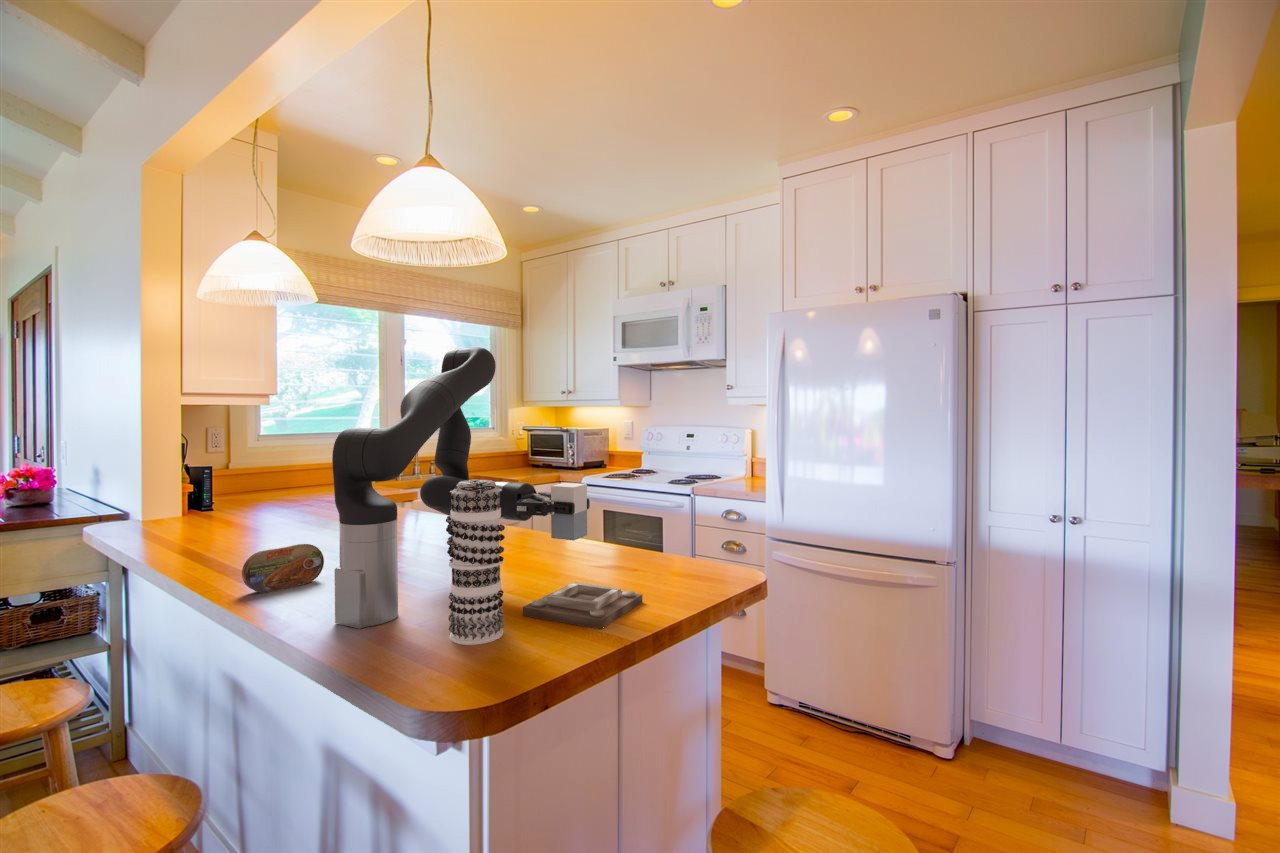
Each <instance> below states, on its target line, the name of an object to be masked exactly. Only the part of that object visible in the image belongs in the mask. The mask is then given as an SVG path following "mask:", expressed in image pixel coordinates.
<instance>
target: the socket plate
mask: <svg viewBox="0 0 1280 853" xmlns="http://www.w3.org/2000/svg"><path fill="white" fill-rule="evenodd" d="M642 603H643V593H635V591H634V590H624V591H622V588H620V587H611V586H605V585H598V584H592V583H584V582H578V581H577V582H576V581H575V582H571V583H568V584H567V585H566V586H563V587H561V588H559V589H558V590H555V591H553V592H550V593H549V594H547V595H544V596H542V597H540V598H538V599H535V600H532V601H531V603H528V604H526V605H524V606H522V616H524V617H525V616H526V617H530V618H537V619H542V620H548V621H553V622H559V623H564V624H571V625H576V626H580V627H581V626H582V627H585V628H591V627H594V628H593V629H597V628H598V629H597V630H602V628H603V627H604V628H606V627H607V626H609V625H610V624H612V623H614V622H615V621H616V620H618V619H619V618H621V617H622V616H623V615H626V614H627V613H628V612H630V611H631V610H633V609H634V608H636V607H637V606H639V605H640V604H642ZM611 622H612V623H611ZM608 624H609V625H608ZM605 626H606V627H605ZM604 628H603V629H604Z"/></svg>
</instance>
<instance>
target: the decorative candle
mask: <svg viewBox="0 0 1280 853" xmlns="http://www.w3.org/2000/svg"><path fill="white" fill-rule="evenodd" d="M495 482H496V481H494V480H491V479H469V480H465V481H460V482H459V483H458V484H457V485H456V487H455V489H454V490H452V491H450V492H451V493H452V496H451V500H452V509H451V511H450V515H447V516H446V519H445V522H446V523H447V524H448V525H447V527H446V528H445V531H446V532H447V534H448V535H450V536H449V537H448V538H447V541H446V544H447V546H449V547H448V550H446V551H447V552H446V553H447V554H448V556H449V557H450V559H449V562H448V567H450V568H451V583H450V593H449V595H448V599H449V600H450V601H451V602H449V605H448V609H449V610H450V611H451V612H450V614H449V616H448V621H449V625H448V631H449V632H450V635H449V640H450V641H451V642H452V643H453V644H454V643H455V644H457V645H461V646H462V645H465V646H475V645H483V644H484V645H485V644H487V643H491V642H494V641H497V640H499V639H500V638H501V637H503V635H504V628H503V627H504V620H503V618H504V614H505V613H504V611H503V609H502V608H501V607H503V605H504V600H503V599H502V597H503V595H504V590H503V589H502V578H501V565H502V564H503V562H504V557H503V556H502V555H500V554H502V553H503V552H504V551H505V548H504V546H501V545H500V542H501V541H503V540H505V538H506V536H505V535H504V534H502V533H500V532H503V531H504V530H505V529H506V526H505V525H503V524H502V523H500V520H501V519H500V518H501V517H503V514H502V513H501V508H500V491H502V489H499V488H498V487H497V485H496V483H495Z"/></svg>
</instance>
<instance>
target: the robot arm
mask: <svg viewBox="0 0 1280 853" xmlns="http://www.w3.org/2000/svg"><path fill="white" fill-rule="evenodd" d="M442 358H443V359H442V361H441V362H442V363H441V372H440V373H439V374H435V375H433V376H431V377H428V378H426V379H424V380H422V381H420V382H419V383H418V384H417V385H416V386H414V387H413V388H412V389H411V390H409V391H408V392H407V393H406V394H405V395H404V397H403V398H402V400H401V403H400V418H401V419H400V420H399V421H398V422H396V423H394V424H393V425H391V426H388V427H381V428H379V427H374V428H373V427H372V428H371V427H356V428H354V427H351V428H347V429H344V430H342V431H341V432H339V434H338V435H337V437H336V439H335V441H334V443H333V448H332V456H331V457H332V461H331V462H332V478H333V489H334V490H333V492H334V493H333V494H334V503H335V507H336V509H337V512H338V517H339V518H338V520H339V521H338V522H339V523H338V524H339V566H336V567H335V568H334V624H336V625H337V624H338V625H340V626H341V625H342V626H345V627H350V628H356V629H363V628H365V627H371V626H377V625H383V624H386V623H388V622H391V621H392V620H395V619H396V618H398V616H399V579H398V578H399V572H398V570H399V569H398V568H399V564H398V563H399V562H398V559H399V557H398V554H399V553H398V550H399V549H398V547H399V546H398V545H399V544H398V542H399V541H398V540H399V539H398V536H399V535H398V506H397V504H396V502H394V501H393V500H391V499H389V498H387V497H385V496H383V495H381V493H379V492H377V491H376V490H375V489H374V487H373V482H379V483H381V482H388V481H392V480H395V479H396V478H398V477H399V476H400V475H401V474H402V473H403V472H404V471H405V470H406V469H407V467H408V466H409V465H410V464H411V462H412V461H413V459H415V457H416V455H417V454H418V453H419V451H420V450H421V448H422V447H423V446H425V444H426V442H427V441H428V440H429V439H430V438H431V437H432V436H433V435H434V434H435V433H436V431H437V430H439V432H438V437H437V443H436V448H435V454H434V461H433V462H434V465H435V467H436V468H437V469H438V470H439V472H441V475H434V476H433V475H432V476H431V477H430V478H427V479H426V480H425V481H424V483H422V485H421V487H420V490H419V496H420V499H421V502H422V503H423V504H424V505H425V506H426V507H428V508H430V509H433V510H434V511H437V512H439V513H442V514H443V515H447V516H450V511H451V509H452V500H451V496H452V493H451V492H450V491H452V490H454V489H455V487H456V485H457V484H458V483H459V482H460V481H465V480H470V473H469V468H468V467H469V466H468V462H469V454H470V449H471V443H472V433H471V428H470V425H469V423H468V421H467V419H466V416H465V415H464V411H462V408H461V407H462V406H463V405H464V404H466V402H467V401H468V400H470V399H471V397H473V396H474V395H476V394H477V393H478V392H480V391H481V390H482V389H484V388H486V387H487V386H489V384H490V383H491V382H492V380H493V378H494V377H495V374H496V368H497V367H496V366H497V365H496V359H495V357H494V355H493V354H492V352H491V351H489V349H486V348H484V347H476V346H475V347H466V348H465V347H464V348H455V349H451V350H448V351H447V352H446V353H445V355H444V356H443V357H442ZM494 482H495V483H496V485H497V487H498V488H499V489H502V491H500V508H501V513H502V514H503V517H501V518H500V520H507V521H521V522H526V521H529V520H530V519H531V518H532V517H533V516H537V517H538V516H539V517H541V516H542V517H546V516H548V515H550V516H551V515H554V514H567V515H572V514H574V513H575V504H574V503H572V502H559V501H557V502H556V501H554V500H551V492H548V491H538V493H537V491H536V488H535V487H534V486H533V485H532V484H531V483H527V482H515V481H494ZM590 508H591V507H590V499H589V497H587V511H588V510H589V509H590Z"/></svg>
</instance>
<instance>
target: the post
mask: <svg viewBox="0 0 1280 853" xmlns="http://www.w3.org/2000/svg"><path fill="white" fill-rule="evenodd" d="M550 493H551V500H554V501H556V502H557V501H559V502H572V503H574V504H575V513H574V514H572V515H567V514H554V515H551V514H550V529H551V530H550V533H551V535H550V538H551V539H556V540H565V541H576V540H579V539H582V538H584V537H586V536H588V510H587V498H588V484H587V483H576V482H562V483H557V484H554V485H550Z"/></svg>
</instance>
